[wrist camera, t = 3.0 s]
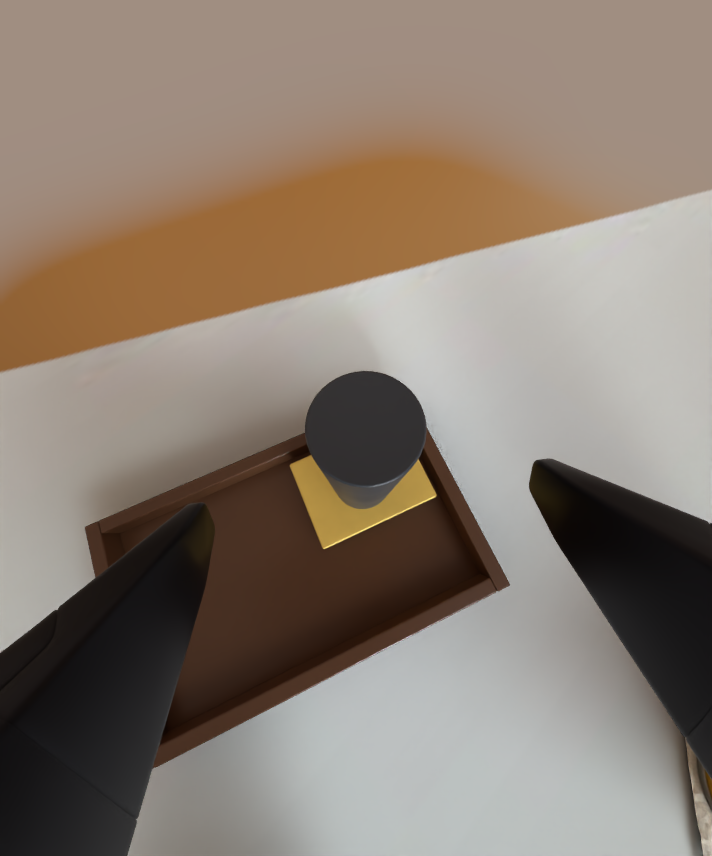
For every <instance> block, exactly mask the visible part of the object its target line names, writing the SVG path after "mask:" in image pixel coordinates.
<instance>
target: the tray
mask: <svg viewBox="0 0 712 856" xmlns="http://www.w3.org/2000/svg"><path fill="white" fill-rule="evenodd" d="M310 455H311V453H310V451H309V449H308V446H307V442H306V437H305V433H303V434H301V435H298V436H296V437H294V438H291V439H289V440H287V441H284V442H282V443H280V444H277V445H275V446H273V447H270V448H268V449H266V450H263V451H261V452H259V453H256V454H254V455H252V456H249V457H247V458H245V459H242V460H240V461H238V462H235V463H233V464H231V465H228V466H226V467H224V468H221V469H219V470H216V471H214V472H212V473H209V474H207V475H205V476H202V477H200V478H198V479H195V480H193V481H191V482H188V483H186V484H184V485H181V486H179V487H177V488H174V489H172V490H170V491H167V492H165V493H163V494H160V495H158V496H156V497H153V498H151V499H149V500H146V501H144V502H142V503H139V504H137V505H135V506H132V507H130V508H128V509H125V510H123V511H121V512H118V513H116V514H114V515H111V516H109V517H107V518H104V519H102V520H100V521H97V522H95V523H93V524H90V525H88V526H86V527H85V531H86V535H87V540H88V545H89V549H90V554H91V559H92V564H93V568H94V573H95V578H96V577H97V576H99V575H100V574H101V573H102V572H104V571H105V570H106V569H107V568H109V567H110V566H111V565H112V564H114V563H115V562H116V561H117V560H119V559H120V558H121V557H122V556H124V555H125V554H126V553H127V552H129V551H130V550H131V549H132V548H134V547H135V546H136V545H137V544H139V543H140V542H141V541H142V540H144V539H145V538H146V537H147V536H149V535H150V534H151V533H152V532H154V531H155V530H156V529H157V528H159V527H160V526H161V525H162V524H164V523H165V522H166V521H167V520H169V519H170V518H171V517H172V516H174V515H175V514H176V513H178V512H179V511H180V510H181V509H183V508H184V507H185V506H186V505H188V504H191V503H199V502H203V503H205V504H206V505H207V507H208V510H209V512H210V515H211V517H212V520H213V522H214V525H215V536H214V542H213V548H212V553H211V559H210V565H209V570H208V576H207V581H206V586H205V590H204V594H203V597H202V601H201V604H200V608H199V611H198V614H197V618H196V621H195V625H194V628H193V631H192V635H191V638H190V642H189V645H188V648H187V652H186V655H185V659H184V662H183V666H182V669H181V672H180V676H179V679H178V683H177V686H176V689H175V693H174V696H173V700H172V703H171V706H170V710H169V713H168V717H167V720H166V724H165V727H164V730H163V734H162V737H161V741H160V744H159V747H158V751H157V754H156V758H155V761H154V764H153V768H156V767H158V766H160V765H162V764H164V763H166V762H168V761H170V760H172V759H173V758H175V757H177V756H179V755H181V754H183V753H185V752H187V751H189V750H191V749H193V748H195V747H197V746H199V745H201V744H203V743H205V742H206V741H208V740H210V739H212V738H214V737H216V736H218V735H220V734H222V733H224V732H226V731H228V730H230V729H232V728H234V727H236V726H238V725H239V724H241V723H243V722H245V721H247V720H249V719H251V718H253V717H255V716H257V715H259V714H261V713H263V712H265V711H267V710H269V709H270V708H272V707H274V706H276V705H278V704H280V703H282V702H284V701H286V700H288V699H290V698H292V697H294V696H296V695H298V694H300V693H302V692H303V691H305V690H307V689H309V688H311V687H313V686H315V685H317V684H319V683H321V682H323V681H325V680H327V679H329V678H331V677H333V676H335V675H336V674H338V673H340V672H342V671H344V670H346V669H348V668H350V667H352V666H354V665H356V664H358V663H360V662H362V661H364V660H366V659H368V658H369V657H371V656H373V655H375V654H377V653H379V652H381V651H383V650H385V649H387V648H389V647H391V646H393V645H395V644H397V643H399V642H400V641H402V640H404V639H406V638H408V637H410V636H412V635H414V634H416V633H418V632H420V631H422V630H424V629H426V628H428V627H430V626H432V625H433V624H435V623H437V622H439V621H441V620H443V619H445V618H447V617H449V616H451V615H453V614H455V613H457V612H459V611H461V610H463V609H465V608H466V607H468V606H470V605H472V604H474V603H476V602H478V601H480V600H482V599H484V598H486V597H488V596H490V595H492V594H494V593H496V591H500V590H502V589H504V588H506V587H508V586H510V584H509V582H508V580H507V578H506V576H505V574H504V572H503V570H502V568H501V567H500V565H499V563H498V561H497V559H496V557H495V555H494V553H493V552H492V550H491V548H490V546H489V544H488V542H487V540H486V538H485V536H484V535H483V533H482V531H481V529H480V527H479V525H478V523H477V521H476V519H475V518H474V516H473V514H472V512H471V510H470V508H469V506H468V504H467V503H466V501H465V499H464V497H463V495H462V493H461V491H460V489H459V487H458V486H457V484H456V482H455V480H454V478H453V476H452V474H451V472H450V470H449V469H448V467H447V465H446V463H445V461H444V459H443V457H442V455H441V454H440V452H439V450H438V448H437V446H436V444H435V442H434V440H433V438H432V437H431V435H430V433H429V431H428V429H427V427H426V440H425V444H424V448H423V450H422V453H421V455H420V457H419V461H420V463H421V465H422V467H423V469H424V471H425V473H426V475H427V477H428V479H429V481H430V483H431V485H432V487H433V489H434V490H435V492H436V495H437V496H436V497H434V498H432V499H430V500H428V501H426V502H424V503H422V504H420V505H417V506H415V507H413V508H411V509H409V510H407V511H405V512H403V513H400V514H398V515H396V516H394V517H392V518H390V519H388V520H386V521H383V522H381V523H379V524H377V525H375V526H373V527H371V528H369V529H366V530H364V531H362V532H360V533H358V534H356V535H354V536H352V537H349V538H347V539H345V540H343V541H341V542H339V543H337V544H335V545H332V546H330V547H328V548H326V549H323V548H322V546H321V543H320V541H319V538H318V536H317V533H316V531H315V528H314V526H313V523H312V521H311V518H310V516H309V513H308V511H307V508H306V505H305V503H304V500H303V498H302V495H301V493H300V490H299V488H298V485H297V483H296V480H295V478H294V475H293V473H292V470H291V468H290V464H292V463H294V462H296V461H299V460H301V459H303V458H305V457H308V456H310ZM153 768H152V769H153Z"/></svg>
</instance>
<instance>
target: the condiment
mask: <svg viewBox="0 0 712 856" xmlns="http://www.w3.org/2000/svg"><path fill="white" fill-rule="evenodd" d="M685 741H686V737H685ZM686 747H687V757H688V765H689V771H690V776H691V783H692V790H693V796H694V804H695V811H696V817H697V821H698V828H699V831H700V834H701V843H702V849H703V856H712V779H711V778H710V776H709V775H708V773H707V772H706V770H705V769H704V767H703V766H702V764H701V763H700V761H699V760H698V758H697V757H696V755H695V754H694V752H693V750H692V749H691V747H690V746H689V744H688V743H687V741H686Z"/></svg>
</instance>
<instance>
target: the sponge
mask: <svg viewBox="0 0 712 856" xmlns="http://www.w3.org/2000/svg"><path fill="white" fill-rule="evenodd" d="M305 437H306V442H307V446H308V449H309V451H310V453H311V455H310V456H308V457H305V458H303V459H301V460H299V461H296V462H294V463H292V464H290V468H291V470H292V473H293V475H294V478H295V480H296V483H297V485H298V488H299V490H300V493H301V495H302V498H303V500H304V503H305V505H306V508H307V511H308V513H309V516H310V518H311V521H312V523H313V526H314V528H315V531H316V533H317V536H318V538H319V541H320V543H321V546H322V548H323V549H326V548H328V547H330V546H332V545H335V544H337V543H339V542H341V541H343V540H345V539H347V538H349V537H352V536H354V535H356V534H358V533H360V532H362V531H364V530H366V529H369V528H371V527H373V526H375V525H377V524H379V523H381V522H383V521H386V520H388V519H390V518H392V517H394V516H396V515H398V514H400V513H403V512H405V511H407V510H409V509H411V508H413V507H415V506H417V505H420V504H422V503H424V502H426V501H428V500H430V499H432V498H434V497H436V496H437V495H436V492H435V490H434V489H433V487H432V485H431V483H430V481H429V479H428V477H427V475H426V473H425V471H424V469H423V467H422V465H421V463H420V461H419V457H420V455H421V453H422V450H423V448H424V444H425V440H426V420H425V415H424V412H423V409H422V407H421V405H420V403H419V401H418V400H417V398H416V396H415V395H414V394H413V393H412V392H411V390H410V389H408V388H407V387H406V386H405V385H404V384H403V383H401V382H400V381H398V380H396V379H395V378H393V377H391V376H388V375H386V374H382V373H378V372H372V371H360V372H353V373H349V374H346V375H343V376H340V377H338V378H336V379H334V380H333V381H331V382H330V383H328V384H327V385H326V386H325V387H324V388H322V389H321V391H320V392H319V393H318V394H317V395H316V397H315V398H314V400H313V401H312V403H311V405H310V407H309V410H308V413H307V417H306V422H305Z"/></svg>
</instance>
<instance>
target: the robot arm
mask: <svg viewBox="0 0 712 856" xmlns="http://www.w3.org/2000/svg"><path fill="white" fill-rule="evenodd" d="M529 489H530V492H531V494H532V496H533V498H534V500H535V502H536V504H537V506H538V508H539V510H540V512H541V514H542V516H543V518H544V520H545V522H546V524H547V525H548V527H549V529H550V531H551V533H552V535H553V537H554V539H555V540H556V542H557V544H558V545H559V547H560V548H561V550H562V551H563V553H564V555H565V556H566V558H567V559H568V561H569V562H570V564H571V565H572V567H573V568H574V570H575V571H576V573H577V574H578V576H579V577H580V579H581V580H582V582H583V584H584V585H585V587H586V588H587V590H588V591H589V593H590V594H591V596H592V597H593V599H594V600H595V602H596V603H597V605H598V606H599V608H600V609H601V611H602V613H603V614H604V616H605V617H606V619H607V620H608V622H609V623H610V625H611V626H612V628H613V629H614V631H615V632H616V634H617V635H618V637H619V638H620V640H621V642H622V643H623V645H624V646H625V648H626V649H627V651H628V652H629V654H630V655H631V657H632V658H633V660H634V661H635V663H636V664H637V666H638V668H639V669H640V671H641V672H642V674H643V675H644V677H645V678H646V680H647V681H648V683H649V684H650V686H651V687H652V689H653V690H654V692H655V693H656V695H657V697H658V698H659V700H660V701H661V703H662V704H663V706H664V707H665V709H666V710H667V712H668V713H669V715H670V716H671V718H672V719H673V721H674V722H675V724H676V726H677V727H678V729H679V730H680V732H681V733H682V735H683V736H684V737H686V741H687V743H688V744H689V746H690V747H691V749H692V750H693V752H694V754H695V755H696V757H697V758H698V760H699V761H700V763H701V764H702V766H703V767H704V769H705V770H706V772H707V773H708V775H709V776H710V778H711V779H712V523H710V524H709V523H708V522H707V521H705V520H702V519H700V518H698V517H695V516H693V515H690V514H688V513H685V512H683V511H680V510H678V509H675V508H673V507H670V506H668V505H665V504H663V503H660V502H658V501H655V500H653V499H650V498H648V497H645V496H643V495H640V494H638V493H635V492H633V491H630V490H628V489H625V488H623V487H620V486H618V485H615V484H613V483H610V482H608V481H606V480H603V479H601V478H598V477H596V476H593V475H591V474H588V473H586V472H583V471H581V470H578V469H576V468H573V467H571V466H568V465H566V464H563V463H561V462H558V461H556V460H553V459H541V460H536V461H535V462H534V463H533V466H532V471H531V477H530V482H529ZM214 536H215V525H214V522H213V520H212V517H211V515H210V512H209V510H208V507H207V505H206V504H205V503H203V502H199V503H191V504H188V505H186V506H185V507H184V508H183V509H181V510H180V511H179V512H178V513H176V514H175V515H174V516H172V517H171V518H170V519H169V520H167V521H166V522H165V523H164V524H162V525H161V526H160V527H159V528H157V529H156V530H155V531H154V532H152V533H151V534H150V535H149V536H147V537H146V538H145V539H144V540H142V541H141V542H140V543H139V544H137V545H136V546H135V547H134V548H132V549H131V550H130V551H129V552H127V553H126V554H125V555H124V556H122V557H121V558H120V559H119V560H117V561H116V562H115V563H114V564H112V565H111V566H110V567H109V568H107V569H106V570H105V571H104V572H102V573H101V574H100V575H99V576H97V577H96V578H95V579H94V580H92V581H91V582H90V583H89V584H87V585H86V586H85V587H84V588H82V589H81V590H80V591H79V592H77V593H76V594H75V595H73V596H72V597H71V598H70V599H68V600H67V601H66V602H65V603H63V604H62V605H61V606H60V607H59V608H58V610H55V611H53V612H52V613H51V614H50V615H48V616H47V617H46V618H45V619H43V620H42V621H41V622H40V623H38V624H37V625H36V626H35V627H33V628H32V629H31V630H29V631H28V632H27V633H26V634H24V635H23V636H22V637H20V638H19V639H18V640H17V641H15V642H14V643H13V644H11V645H10V646H9V647H8V648H6V649H5V650H4V651H2V652H1V653H0V856H127V854H128V851H129V847H130V844H131V841H132V837H133V834H134V830H135V827H136V824H137V820H136V819H137V818H138V816H139V812H140V809H141V805H142V802H143V799H144V795H145V792H146V788H147V785H148V782H149V778H150V775H151V771H152V768H153V764H154V761H155V758H156V754H157V751H158V747H159V744H160V741H161V737H162V734H163V730H164V727H165V724H166V720H167V717H168V713H169V710H170V706H171V703H172V700H173V696H174V693H175V689H176V686H177V683H178V679H179V676H180V672H181V669H182V666H183V662H184V659H185V655H186V652H187V648H188V645H189V642H190V638H191V635H192V631H193V628H194V625H195V621H196V618H197V614H198V611H199V608H200V604H201V601H202V597H203V594H204V590H205V586H206V581H207V576H208V570H209V565H210V559H211V553H212V548H213V542H214Z"/></svg>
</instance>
